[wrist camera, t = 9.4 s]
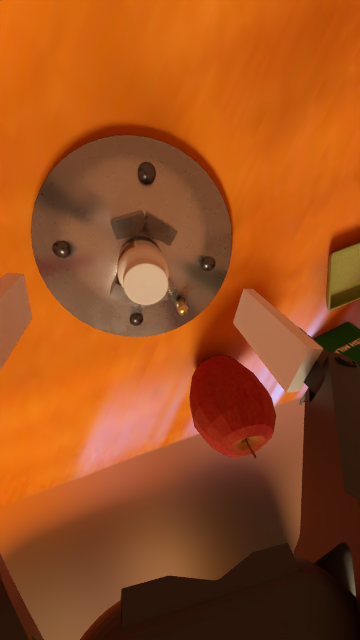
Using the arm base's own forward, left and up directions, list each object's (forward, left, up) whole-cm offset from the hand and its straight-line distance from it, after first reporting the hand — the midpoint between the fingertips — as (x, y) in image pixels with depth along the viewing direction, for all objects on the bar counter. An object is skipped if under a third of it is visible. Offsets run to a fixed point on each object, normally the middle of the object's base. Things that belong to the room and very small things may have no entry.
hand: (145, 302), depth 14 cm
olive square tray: (-1, +28, -13) cm, 31 cm away
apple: (+16, +12, -12) cm, 24 cm away
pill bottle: (0, 0, -11) cm, 11 cm away
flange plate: (0, 0, -12) cm, 12 cm away
